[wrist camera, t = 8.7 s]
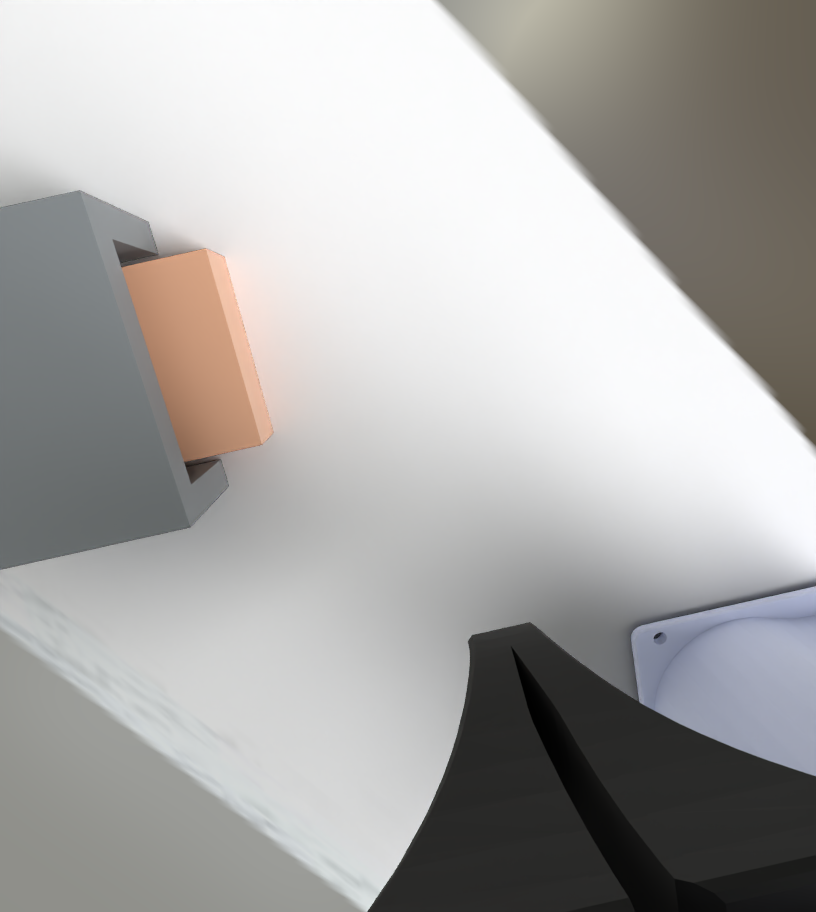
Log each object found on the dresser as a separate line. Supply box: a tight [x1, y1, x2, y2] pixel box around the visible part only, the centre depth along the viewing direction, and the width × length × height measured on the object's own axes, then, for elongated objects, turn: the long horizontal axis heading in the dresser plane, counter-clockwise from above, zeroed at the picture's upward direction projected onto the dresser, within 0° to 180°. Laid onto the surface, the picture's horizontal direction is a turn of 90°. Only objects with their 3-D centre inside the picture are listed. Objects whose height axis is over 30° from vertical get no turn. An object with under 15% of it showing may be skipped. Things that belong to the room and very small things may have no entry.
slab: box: [121, 248, 274, 462], centre depth 18 cm, size 8×6×2 cm
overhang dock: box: [0, 190, 229, 570], centre depth 17 cm, size 7×9×4 cm
